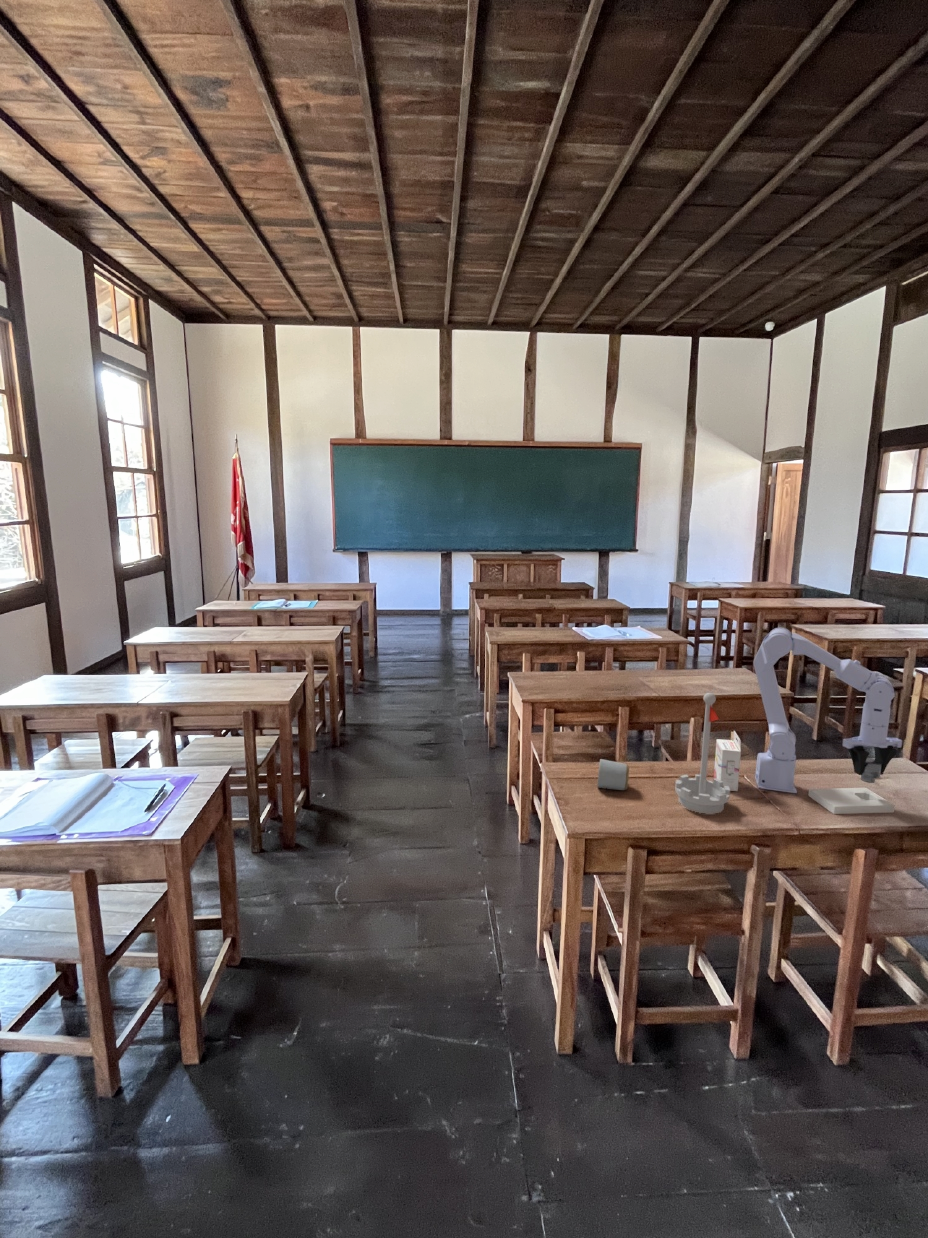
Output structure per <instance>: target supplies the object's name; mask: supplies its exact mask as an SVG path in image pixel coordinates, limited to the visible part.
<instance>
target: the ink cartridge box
mask: <svg viewBox="0 0 928 1238" xmlns="http://www.w3.org/2000/svg"><path fill="white" fill-rule="evenodd" d="M741 741H742V740H741V738H740V737H739V735H738V734H737V732H736V731H735V730H733V740H732V739H723V738H722V739H719V738H716V743H715V754H714V755H715V756H714V757H715V759H714V769H713V779H715V778H716V779H718V780H720V781H722V782H723V786H729V788H730V791H731V792H738V791H739V781H740V780H739V777H740V767H741V757H742V756H741V755H742V742H741Z"/></svg>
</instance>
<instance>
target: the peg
mask: <svg viewBox="0 0 928 1238" xmlns="http://www.w3.org/2000/svg"><path fill="white" fill-rule="evenodd" d="M881 766H882V763H881V762H880V761H878V760H875V758H871V757H867V759H866V762H865V766H864V772H863V774H862V775H860V781H862V782H864V783H867V784H868V783H869V784H874V783H875V782H876V779H878V778H880V777H881V775H880V774H881Z"/></svg>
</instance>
